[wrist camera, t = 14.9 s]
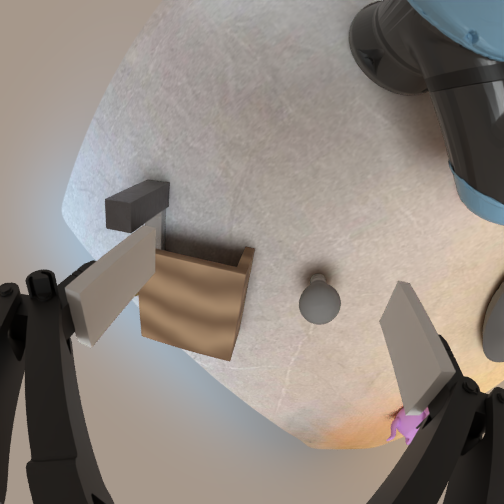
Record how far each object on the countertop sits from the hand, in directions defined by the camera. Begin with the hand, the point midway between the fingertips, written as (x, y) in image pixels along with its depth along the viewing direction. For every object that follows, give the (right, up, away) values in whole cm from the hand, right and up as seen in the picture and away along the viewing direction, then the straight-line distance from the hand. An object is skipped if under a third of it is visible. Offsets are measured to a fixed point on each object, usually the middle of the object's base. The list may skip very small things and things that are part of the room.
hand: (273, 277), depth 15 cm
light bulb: (+10, -3, +32) cm, 34 cm away
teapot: (+41, -40, +44) cm, 73 cm away
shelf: (-10, -4, +35) cm, 37 cm away
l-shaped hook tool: (-17, +3, +34) cm, 38 cm away
